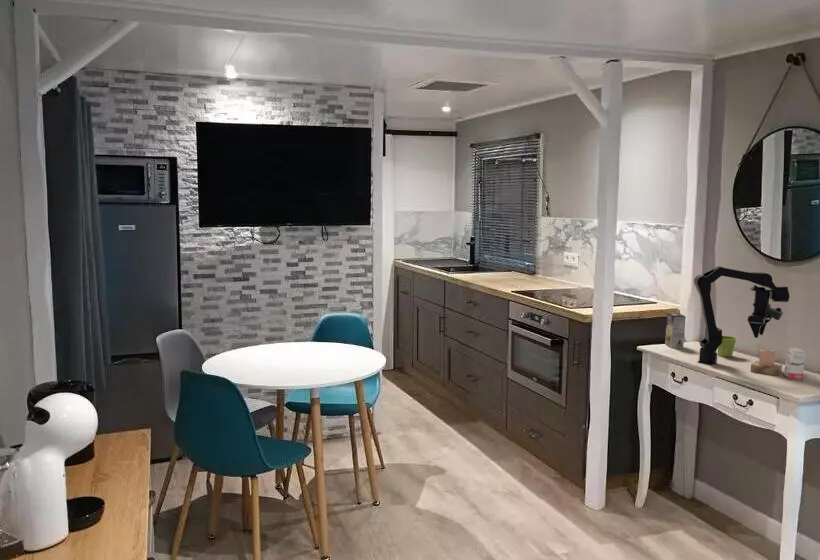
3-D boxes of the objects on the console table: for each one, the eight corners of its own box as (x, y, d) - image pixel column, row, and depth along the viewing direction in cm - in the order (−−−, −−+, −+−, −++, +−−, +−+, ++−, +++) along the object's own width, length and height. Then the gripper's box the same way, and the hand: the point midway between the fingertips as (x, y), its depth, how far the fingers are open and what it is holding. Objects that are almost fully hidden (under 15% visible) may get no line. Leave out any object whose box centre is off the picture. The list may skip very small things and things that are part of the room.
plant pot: (730, 359, 324) (731, 340, 323) (710, 355, 332) (711, 337, 331) (739, 356, 331) (740, 338, 330) (719, 352, 338) (720, 334, 337)
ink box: (803, 380, 287) (806, 351, 286) (790, 379, 288) (792, 350, 287) (796, 375, 296) (799, 347, 294) (783, 374, 297) (786, 346, 295)
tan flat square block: (750, 371, 300) (751, 364, 300) (756, 367, 308) (756, 360, 308) (776, 375, 294) (777, 368, 294) (781, 371, 302) (782, 364, 302)
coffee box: (664, 344, 355) (666, 312, 353) (677, 344, 355) (679, 313, 353) (670, 348, 346) (673, 315, 344) (684, 348, 346) (686, 316, 344)
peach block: (758, 364, 300) (760, 350, 300) (761, 362, 304) (762, 349, 304) (771, 366, 297) (772, 352, 297) (774, 364, 301) (775, 350, 301)
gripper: (777, 305, 297) (774, 342, 299) (786, 301, 312) (783, 336, 313) (748, 302, 304) (745, 338, 306) (759, 298, 318) (756, 332, 320)
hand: (758, 336), depth 311 cm, fingers open, 9 cm apart
